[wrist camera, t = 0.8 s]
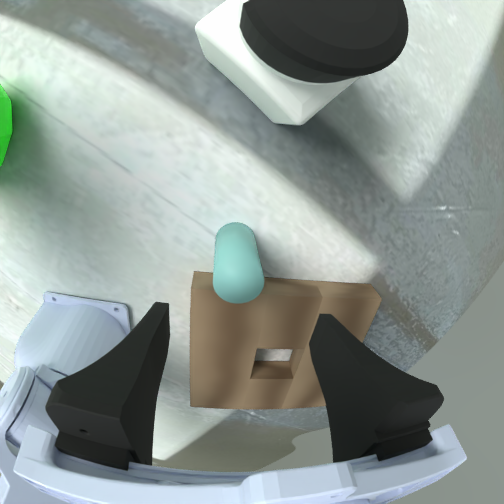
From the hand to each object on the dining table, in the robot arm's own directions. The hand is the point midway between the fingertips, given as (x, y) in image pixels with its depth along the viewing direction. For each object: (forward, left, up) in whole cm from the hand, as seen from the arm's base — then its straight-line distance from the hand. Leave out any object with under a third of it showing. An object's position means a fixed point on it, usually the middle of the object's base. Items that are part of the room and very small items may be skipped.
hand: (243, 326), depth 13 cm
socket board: (+5, -11, -10) cm, 16 cm away
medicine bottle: (+1, +14, -10) cm, 17 cm away
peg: (0, 0, -10) cm, 10 cm away
